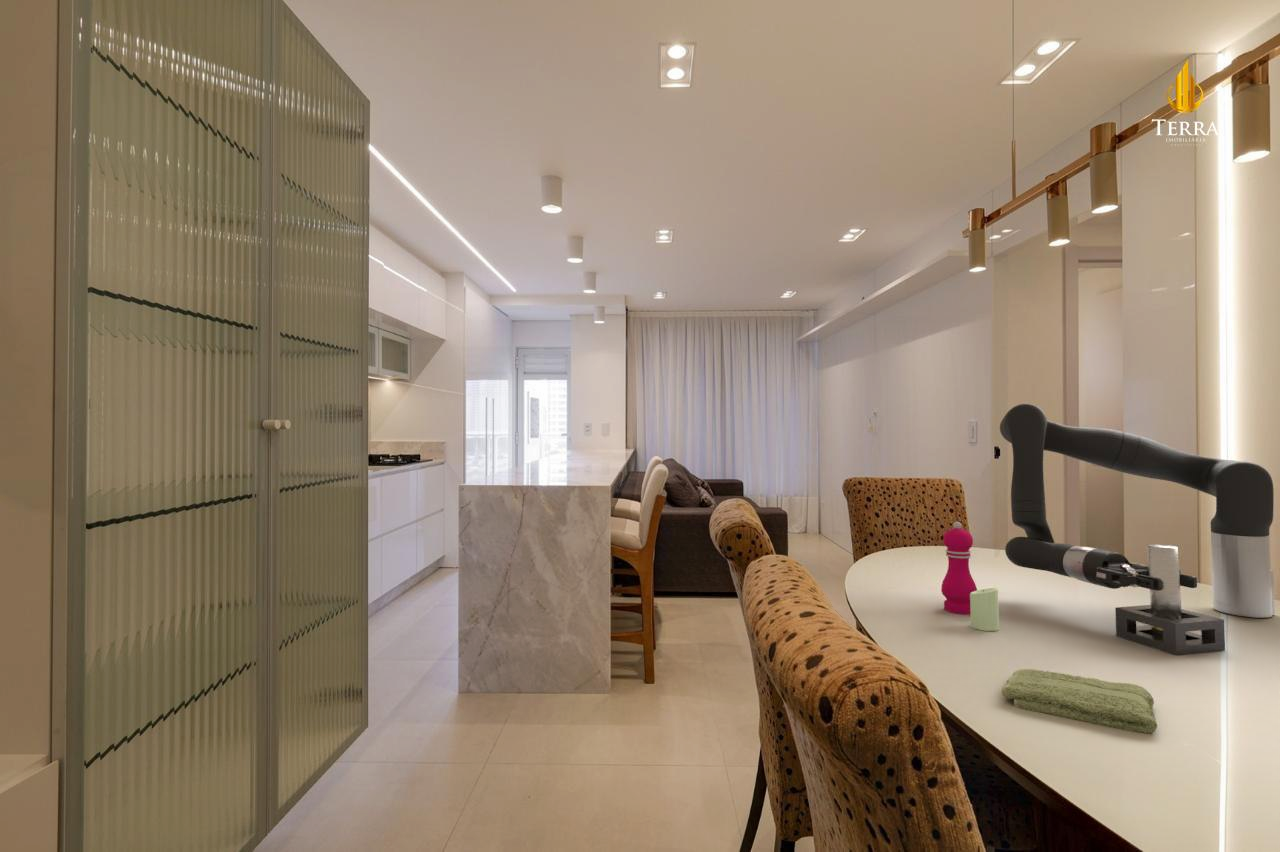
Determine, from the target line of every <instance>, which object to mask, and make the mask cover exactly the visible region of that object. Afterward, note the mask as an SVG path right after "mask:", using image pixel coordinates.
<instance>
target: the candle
mask: <svg viewBox="0 0 1280 852" xmlns="http://www.w3.org/2000/svg"><path fill="white" fill-rule="evenodd" d="M970 612H971V614H970V627H972V628H973V629H975V630H979V631H983V632H996V631H999V627H1000V626H999V625H1000V624H999V622H1000V621H999V619H1000V617H999V589H998V588H996V587H993V588H991V587H990V588H984V589H977V591H974V592H971V593H970Z"/></svg>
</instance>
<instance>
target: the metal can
mask: <svg viewBox="0 0 1280 852" xmlns="http://www.w3.org/2000/svg"><path fill="white" fill-rule="evenodd" d="M1146 547H1147V549H1146V550H1147V562H1148V563H1147V565H1148V567H1149V576H1150V577H1155V578H1159V579H1161V580H1162V590H1159V591H1156V590H1152V589H1149V599H1150V600H1149V601H1150V605H1151V614H1153V615H1157V616H1161V617H1164V618H1168V619H1172V620H1174V619H1182V610H1181V609H1182V599H1181V598H1182V595H1181V594H1182V592H1181V586H1180V575H1179V570H1180V562H1179V561H1180V560H1179V559H1180V558H1179V548H1178V546H1175V545H1169V544H1148V545H1147V546H1146ZM1151 629H1152V636H1155V637H1159V638H1162V639H1163V629H1162V628H1158V627H1155V626H1151Z"/></svg>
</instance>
